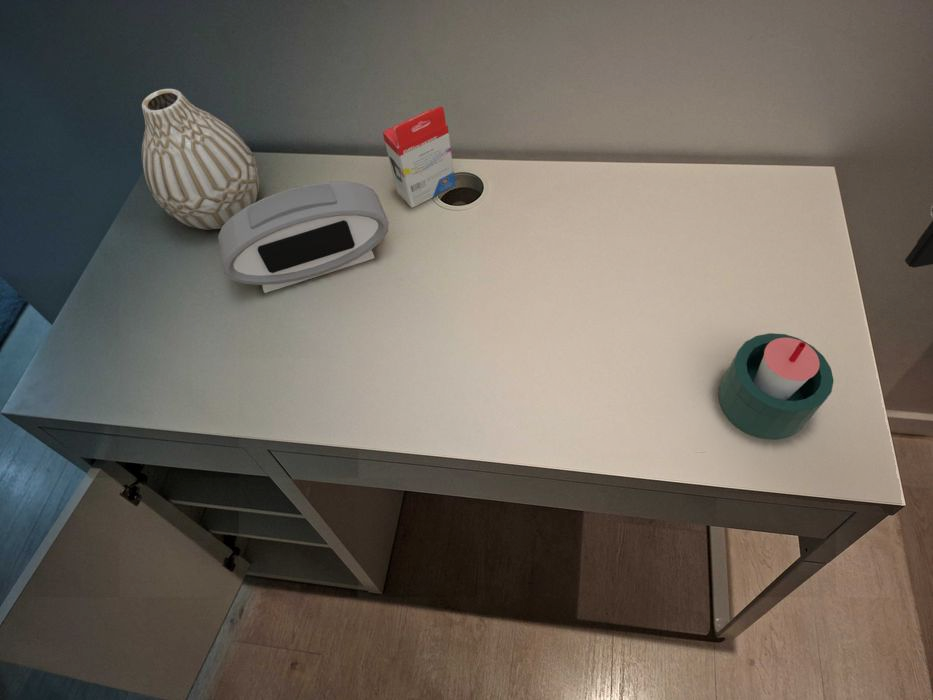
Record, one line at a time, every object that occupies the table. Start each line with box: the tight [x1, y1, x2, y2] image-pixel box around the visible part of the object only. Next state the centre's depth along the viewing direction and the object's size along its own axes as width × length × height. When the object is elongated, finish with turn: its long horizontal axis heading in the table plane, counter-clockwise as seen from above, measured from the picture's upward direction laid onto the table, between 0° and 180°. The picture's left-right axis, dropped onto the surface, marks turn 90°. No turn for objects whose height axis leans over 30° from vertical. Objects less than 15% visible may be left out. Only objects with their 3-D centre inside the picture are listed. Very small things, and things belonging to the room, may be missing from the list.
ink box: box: [382, 105, 456, 209], centre depth 89 cm, size 8×5×15 cm, turn 123°
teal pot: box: [718, 332, 835, 440], centre depth 67 cm, size 10×10×7 cm
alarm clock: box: [217, 181, 389, 294], centre depth 83 cm, size 23×6×13 cm, turn 110°
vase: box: [141, 88, 260, 231], centre depth 89 cm, size 16×16×20 cm
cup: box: [753, 338, 820, 400], centre depth 65 cm, size 5×5×12 cm
